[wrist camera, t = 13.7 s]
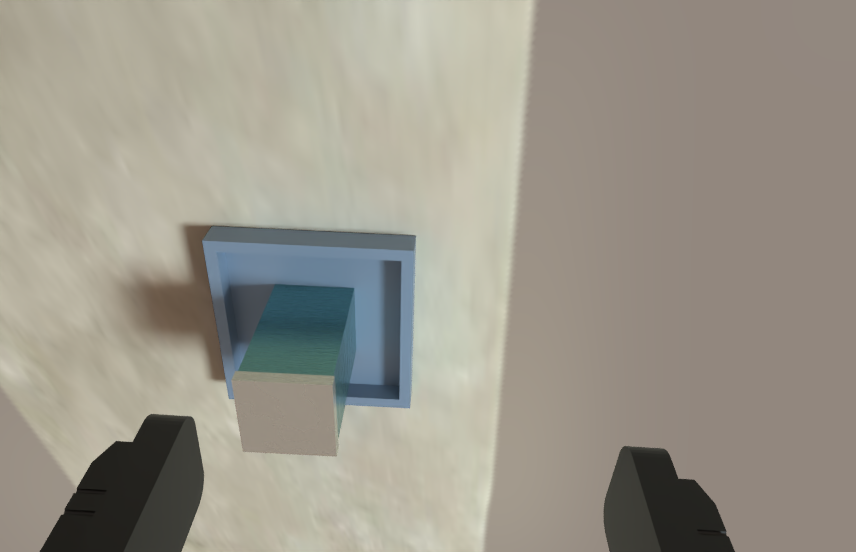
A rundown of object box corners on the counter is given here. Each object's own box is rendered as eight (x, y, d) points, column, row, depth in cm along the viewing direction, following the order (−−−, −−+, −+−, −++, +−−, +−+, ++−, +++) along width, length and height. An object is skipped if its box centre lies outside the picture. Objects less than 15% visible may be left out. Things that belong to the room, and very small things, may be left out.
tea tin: (280, 347, 49) (243, 451, 40) (273, 282, 46) (231, 380, 37) (357, 351, 49) (336, 456, 40) (355, 286, 45) (332, 385, 37)
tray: (236, 381, 51) (228, 398, 49) (211, 226, 44) (202, 240, 42) (411, 390, 51) (409, 408, 49) (415, 235, 44) (414, 250, 42)
